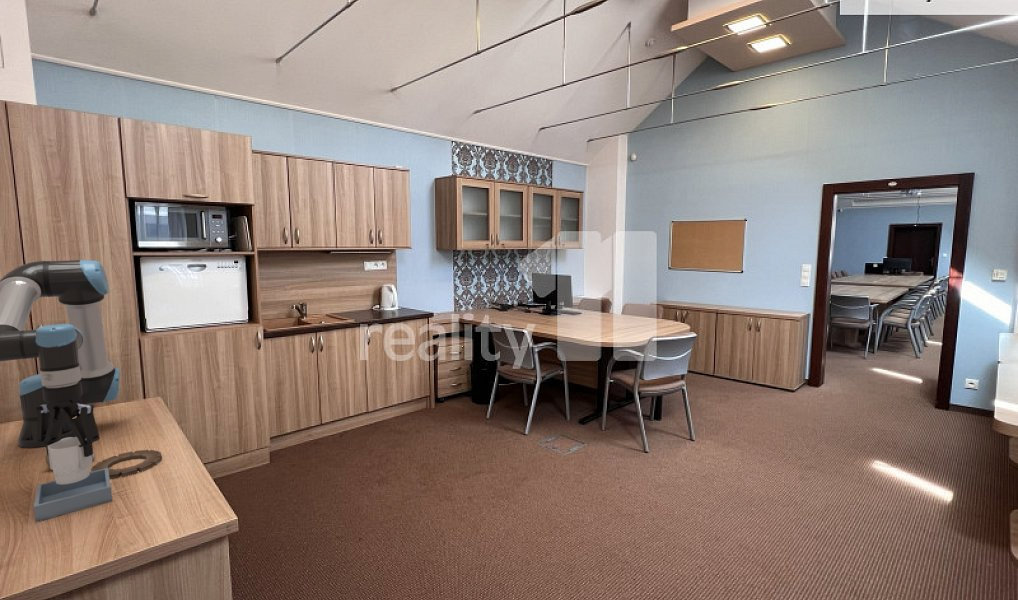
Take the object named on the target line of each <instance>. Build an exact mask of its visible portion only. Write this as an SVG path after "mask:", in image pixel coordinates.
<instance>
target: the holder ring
mask: <svg viewBox="0 0 1018 600" xmlns="http://www.w3.org/2000/svg"><path fill="white" fill-rule="evenodd" d="M138 458H140V459H141V460H143V461H142V462H140V463H137V464H135V465H132V466H127V467H123V468H114V469H113V468H111V467H112V466H115V465H117V464H119V463H122V462H125V461H129V460H139V459H138ZM162 460H163V456H162V453H161V451H160V450H154V449H150V450H149V449H140V450H135V451H128V452H123V453H119V454H118V455H112V456H110V457H107V458H105V459H102V460H101V461H98V462H97V463H96V464H94V465H92V466H91V468H90V472H92V471H97V470H101V469H105V468H108V471H109V479H110V480H111V479H119V478H120V477H121V478H126V477H128V475H129V476H132V474H133V475H136V473H137V474H138V471H139V473H142V471H143V472H144V471H147V470H149V468H150V469H152V468H154V466H155V465H156V466H157V465H158V464H159V463H160V462H161V461H162ZM125 476H126V477H125Z"/></svg>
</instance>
